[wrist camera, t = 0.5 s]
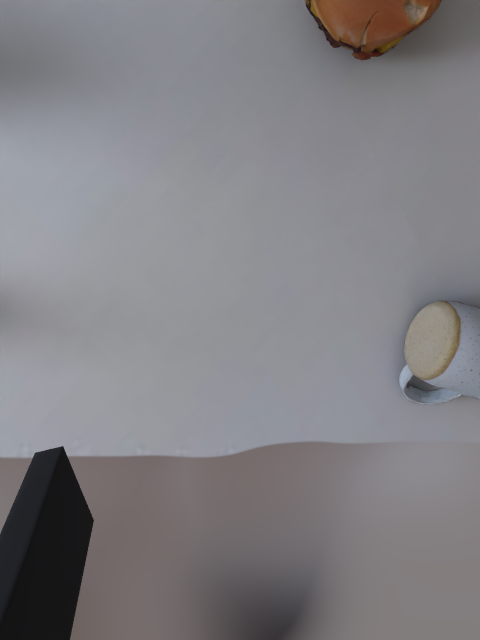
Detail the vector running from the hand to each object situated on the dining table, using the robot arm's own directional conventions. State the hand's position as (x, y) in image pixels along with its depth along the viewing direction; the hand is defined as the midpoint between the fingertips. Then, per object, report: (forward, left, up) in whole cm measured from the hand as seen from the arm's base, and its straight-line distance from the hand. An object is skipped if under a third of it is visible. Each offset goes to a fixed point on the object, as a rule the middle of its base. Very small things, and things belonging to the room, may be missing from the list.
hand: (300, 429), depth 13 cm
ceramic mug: (+15, +17, -26) cm, 34 cm away
